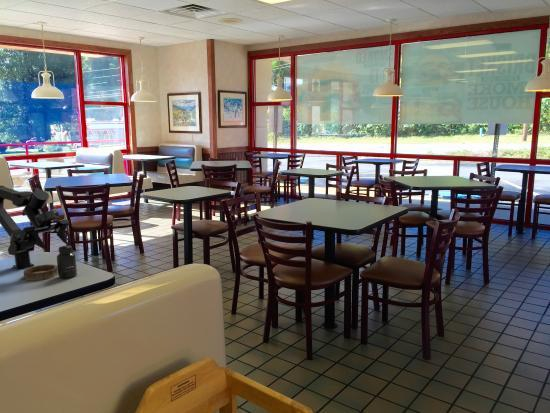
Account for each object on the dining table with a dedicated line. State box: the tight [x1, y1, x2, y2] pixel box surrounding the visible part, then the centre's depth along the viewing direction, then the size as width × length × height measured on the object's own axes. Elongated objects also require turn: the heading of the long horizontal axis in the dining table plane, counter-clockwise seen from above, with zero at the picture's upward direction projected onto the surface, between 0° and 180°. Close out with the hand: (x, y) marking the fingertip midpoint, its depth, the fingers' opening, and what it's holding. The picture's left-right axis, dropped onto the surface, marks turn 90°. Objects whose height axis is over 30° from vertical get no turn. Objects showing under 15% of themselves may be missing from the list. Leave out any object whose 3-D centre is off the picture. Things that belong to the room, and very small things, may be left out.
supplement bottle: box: [56, 245, 78, 280], centre depth 184 cm, size 7×7×12 cm
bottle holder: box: [22, 264, 58, 282], centre depth 187 cm, size 12×12×3 cm
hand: (56, 245), depth 186 cm, fingers open, 9 cm apart
